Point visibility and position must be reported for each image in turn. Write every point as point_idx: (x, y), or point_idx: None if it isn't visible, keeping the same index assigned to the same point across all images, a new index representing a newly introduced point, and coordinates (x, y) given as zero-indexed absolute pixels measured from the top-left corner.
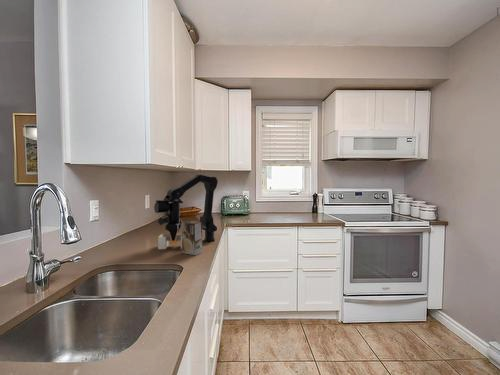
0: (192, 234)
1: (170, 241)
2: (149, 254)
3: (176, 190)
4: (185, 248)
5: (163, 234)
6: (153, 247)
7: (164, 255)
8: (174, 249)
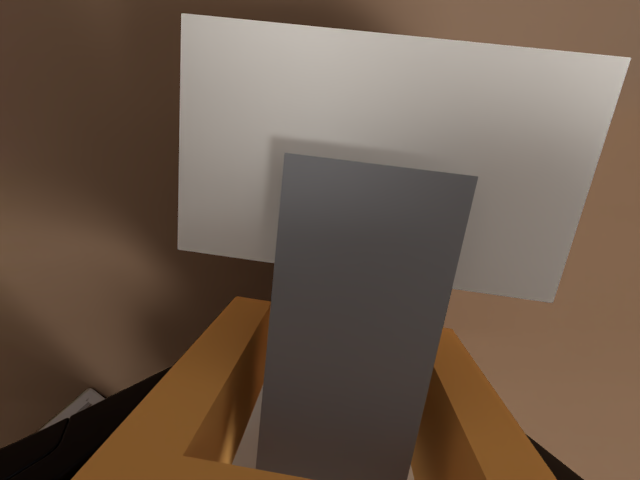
0: None
1: (221, 313)
2: (40, 16)
3: None
4: None
5: (583, 154)
6: (390, 12)
7: (5, 214)
8: None
